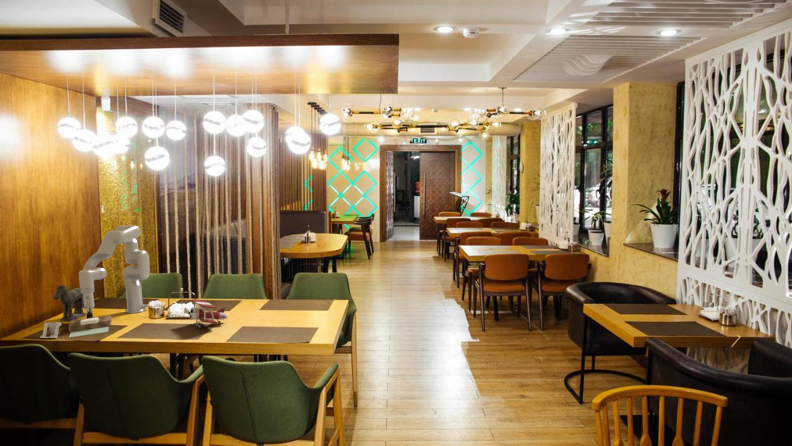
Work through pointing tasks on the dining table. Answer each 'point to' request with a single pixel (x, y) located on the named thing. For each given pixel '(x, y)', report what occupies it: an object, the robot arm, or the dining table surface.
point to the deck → (102, 322)
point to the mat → (89, 332)
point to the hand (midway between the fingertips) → (89, 318)
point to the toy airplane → (205, 313)
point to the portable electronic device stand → (51, 329)
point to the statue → (70, 302)
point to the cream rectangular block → (89, 321)
